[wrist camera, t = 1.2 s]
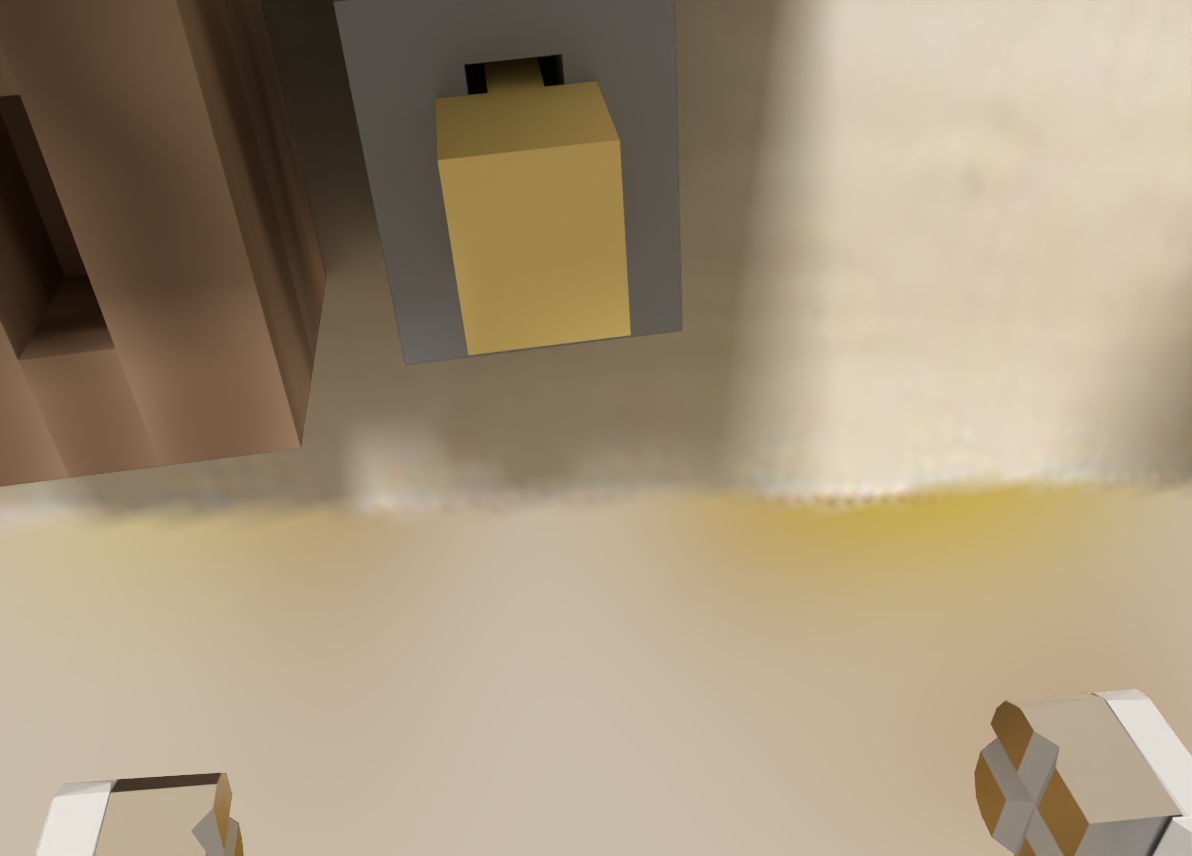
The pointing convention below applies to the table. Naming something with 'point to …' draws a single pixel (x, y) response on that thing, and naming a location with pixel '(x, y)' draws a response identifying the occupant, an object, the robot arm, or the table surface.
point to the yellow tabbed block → (534, 210)
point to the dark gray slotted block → (456, 68)
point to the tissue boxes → (149, 239)
